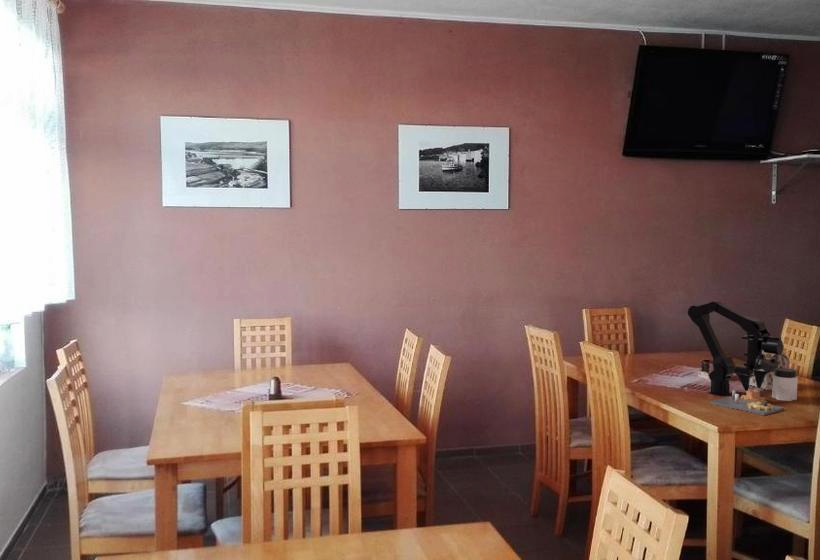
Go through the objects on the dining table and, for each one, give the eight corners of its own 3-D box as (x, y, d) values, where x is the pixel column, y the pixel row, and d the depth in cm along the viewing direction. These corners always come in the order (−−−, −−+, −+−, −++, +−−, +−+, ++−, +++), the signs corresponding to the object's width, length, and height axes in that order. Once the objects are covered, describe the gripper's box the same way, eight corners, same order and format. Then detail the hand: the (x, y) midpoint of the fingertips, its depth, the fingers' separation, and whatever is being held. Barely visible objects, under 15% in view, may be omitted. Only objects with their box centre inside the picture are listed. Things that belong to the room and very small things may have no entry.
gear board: (710, 403, 293) (710, 392, 293) (730, 399, 301) (730, 388, 301) (763, 415, 275) (764, 403, 275) (783, 410, 283) (784, 398, 283)
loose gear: (736, 399, 301) (736, 390, 300) (748, 396, 306) (748, 387, 305) (757, 403, 293) (757, 394, 293) (769, 400, 298) (769, 391, 298)
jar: (771, 399, 301) (772, 370, 300) (772, 395, 308) (773, 367, 307) (796, 402, 296) (797, 372, 296) (796, 398, 304) (798, 369, 303)
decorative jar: (788, 389, 320) (790, 347, 319) (767, 390, 317) (768, 349, 316) (767, 383, 332) (769, 343, 330) (746, 385, 328) (748, 344, 327)
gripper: (761, 356, 286) (759, 396, 287) (786, 351, 297) (784, 390, 298) (734, 352, 295) (732, 390, 296) (759, 347, 306) (758, 385, 307)
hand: (752, 389), depth 299 cm, fingers open, 9 cm apart
